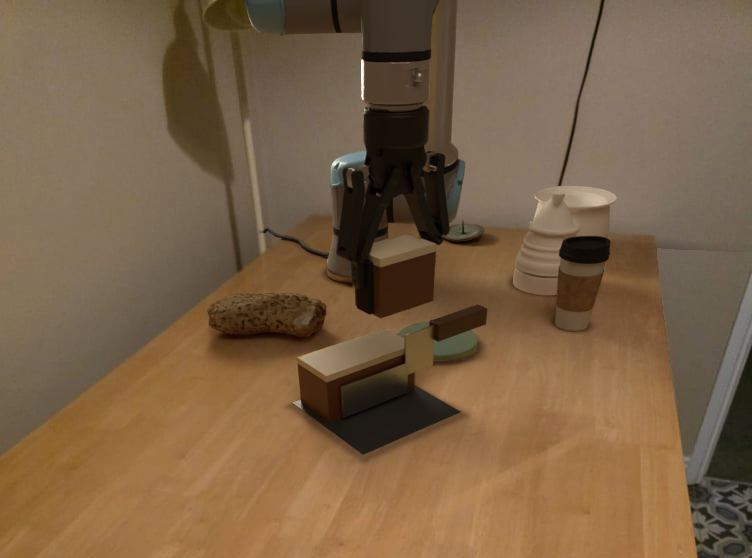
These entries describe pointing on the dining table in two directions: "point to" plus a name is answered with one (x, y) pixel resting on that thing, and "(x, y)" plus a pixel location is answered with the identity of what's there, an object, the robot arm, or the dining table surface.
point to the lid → (464, 232)
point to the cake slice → (402, 274)
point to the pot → (583, 207)
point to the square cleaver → (408, 360)
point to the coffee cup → (579, 279)
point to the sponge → (267, 314)
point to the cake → (346, 369)
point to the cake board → (387, 420)
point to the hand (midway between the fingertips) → (394, 301)
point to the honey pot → (544, 247)
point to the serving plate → (448, 343)
